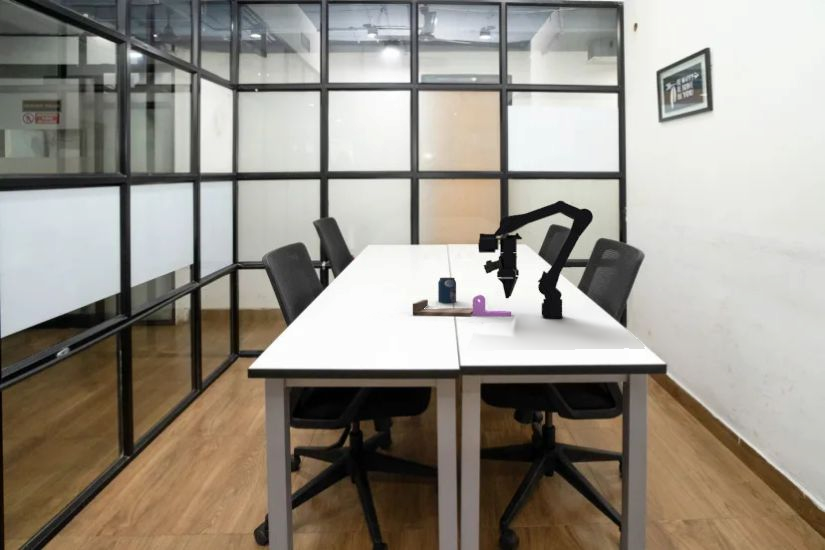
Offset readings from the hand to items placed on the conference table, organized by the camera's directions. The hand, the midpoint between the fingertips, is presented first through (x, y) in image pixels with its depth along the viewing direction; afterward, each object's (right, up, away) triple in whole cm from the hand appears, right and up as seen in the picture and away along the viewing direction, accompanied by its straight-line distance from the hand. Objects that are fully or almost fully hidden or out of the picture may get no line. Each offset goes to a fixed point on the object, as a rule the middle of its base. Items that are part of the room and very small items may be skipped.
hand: (508, 297), depth 203 cm
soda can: (-20, -6, +23) cm, 31 cm away
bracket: (-6, -7, -1) cm, 9 cm away
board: (-22, -6, +6) cm, 23 cm away
